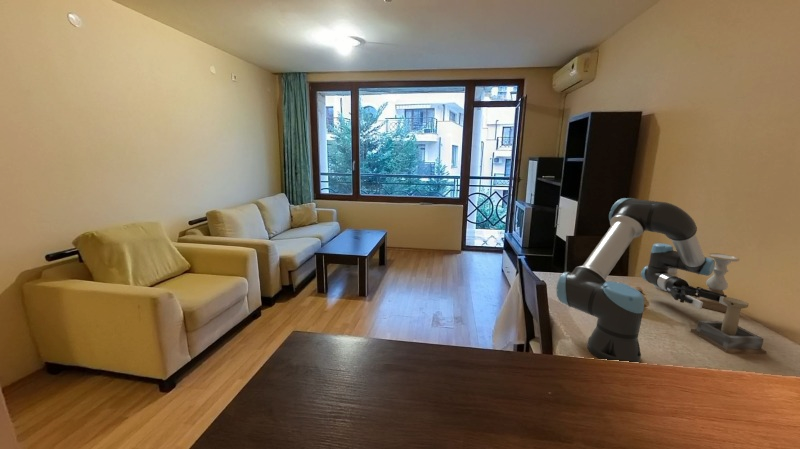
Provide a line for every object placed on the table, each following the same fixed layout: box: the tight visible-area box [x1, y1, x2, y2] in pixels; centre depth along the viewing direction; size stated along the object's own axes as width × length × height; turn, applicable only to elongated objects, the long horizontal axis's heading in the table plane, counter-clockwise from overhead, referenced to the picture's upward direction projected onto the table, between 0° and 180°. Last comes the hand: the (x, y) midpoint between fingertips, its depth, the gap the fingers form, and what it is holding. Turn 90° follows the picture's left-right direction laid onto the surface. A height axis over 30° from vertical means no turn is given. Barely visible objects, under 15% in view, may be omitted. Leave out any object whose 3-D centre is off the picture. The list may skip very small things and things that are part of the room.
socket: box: [690, 320, 767, 354], centre depth 120 cm, size 14×14×5 cm
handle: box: [721, 296, 750, 336], centre depth 119 cm, size 5×6×15 cm
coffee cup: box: [653, 267, 678, 292], centre depth 169 cm, size 9×9×15 cm
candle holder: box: [695, 252, 740, 314], centre depth 149 cm, size 11×11×24 cm
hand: (719, 306), depth 124 cm, fingers open, 13 cm apart
